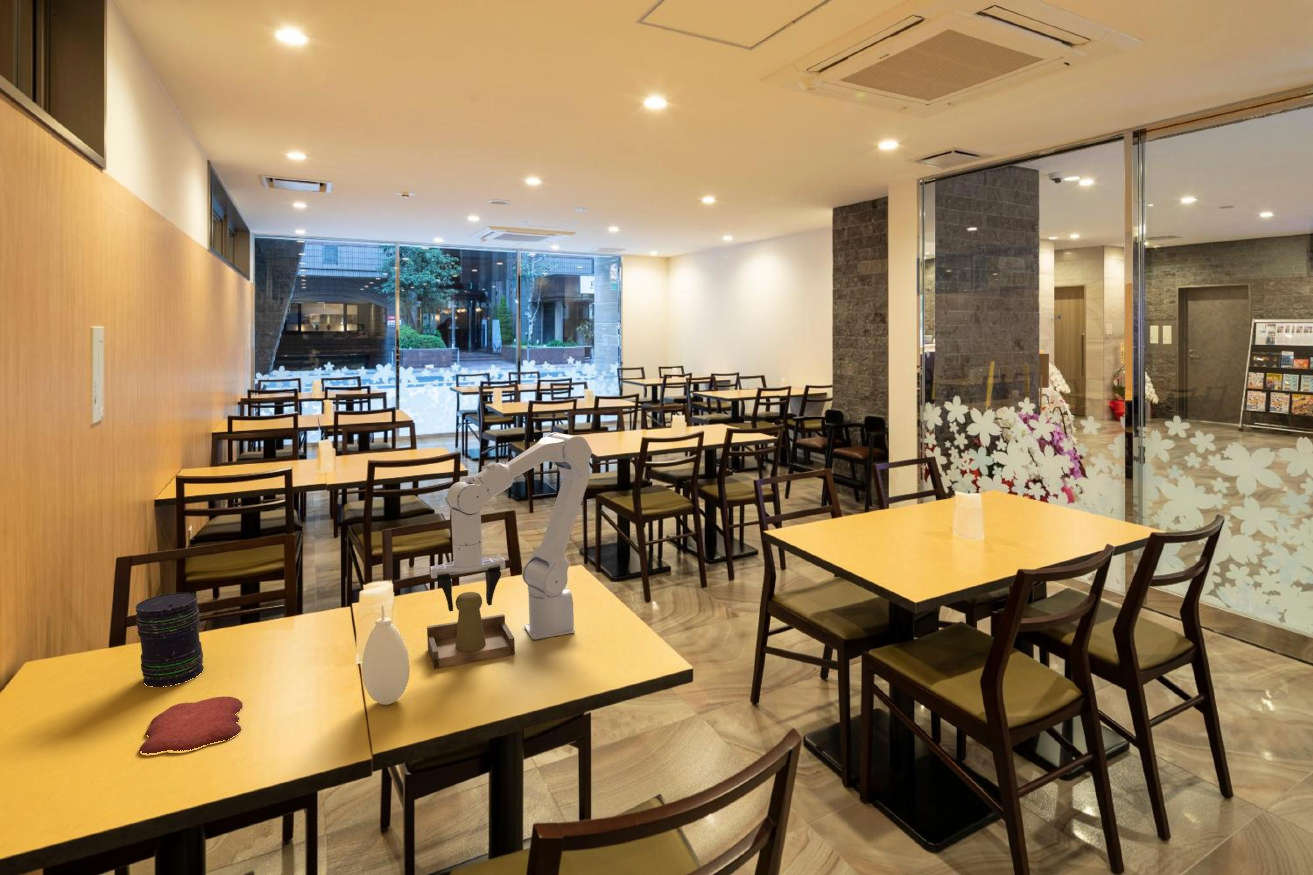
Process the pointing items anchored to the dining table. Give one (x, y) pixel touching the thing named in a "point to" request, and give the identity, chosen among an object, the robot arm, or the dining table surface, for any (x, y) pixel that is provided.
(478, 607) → the olive brown tapered cylinder
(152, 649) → the navy chip stack
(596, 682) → the dining table surface
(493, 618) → the shelf
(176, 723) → the patty
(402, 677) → the white egg-shaped bulb
